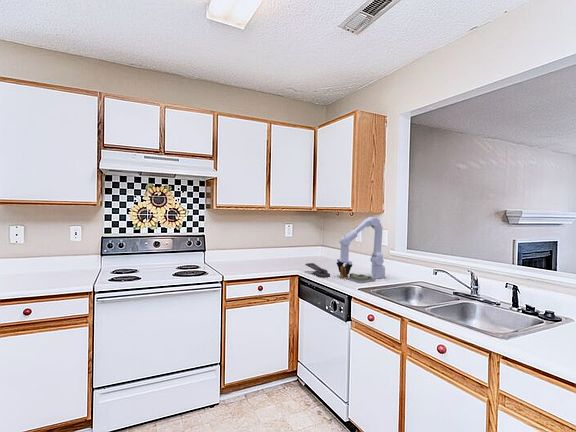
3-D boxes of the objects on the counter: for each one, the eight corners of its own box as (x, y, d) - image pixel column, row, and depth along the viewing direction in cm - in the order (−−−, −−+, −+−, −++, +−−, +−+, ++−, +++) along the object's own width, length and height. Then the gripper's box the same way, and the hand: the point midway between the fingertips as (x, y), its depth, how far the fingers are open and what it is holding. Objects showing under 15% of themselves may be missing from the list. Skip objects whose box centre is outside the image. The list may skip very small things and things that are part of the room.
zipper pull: (314, 262, 260) (332, 268, 238) (313, 271, 260) (332, 277, 238) (304, 263, 256) (321, 269, 234) (303, 272, 256) (321, 278, 234)
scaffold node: (358, 276, 242) (358, 271, 242) (375, 281, 227) (375, 275, 227) (343, 278, 235) (343, 272, 235) (360, 283, 220) (360, 277, 220)
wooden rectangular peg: (345, 276, 240) (345, 266, 240) (347, 277, 237) (348, 266, 237) (340, 277, 238) (340, 266, 237) (342, 278, 235) (343, 267, 235)
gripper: (333, 253, 241) (333, 271, 242) (346, 255, 229) (346, 275, 229) (341, 252, 245) (340, 271, 245) (354, 255, 232) (354, 274, 233)
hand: (344, 273), depth 237 cm, fingers open, 7 cm apart
